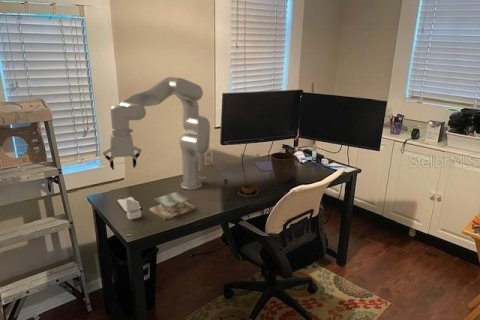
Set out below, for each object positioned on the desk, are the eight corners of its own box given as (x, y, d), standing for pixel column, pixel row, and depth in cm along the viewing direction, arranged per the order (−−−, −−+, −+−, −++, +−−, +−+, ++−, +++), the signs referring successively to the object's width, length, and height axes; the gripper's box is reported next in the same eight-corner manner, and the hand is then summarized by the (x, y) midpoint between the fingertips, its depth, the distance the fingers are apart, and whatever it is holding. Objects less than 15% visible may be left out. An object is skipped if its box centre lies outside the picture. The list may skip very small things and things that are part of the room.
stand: (179, 200, 195) (178, 190, 193) (195, 208, 185) (194, 198, 183) (149, 210, 183) (148, 199, 181) (164, 220, 173) (164, 208, 171)
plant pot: (264, 179, 226) (265, 154, 221) (282, 174, 235) (283, 150, 229) (281, 186, 215) (282, 161, 210) (298, 181, 223) (300, 156, 218)
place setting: (241, 201, 196) (241, 191, 194) (221, 189, 211) (221, 179, 210) (266, 194, 206) (266, 184, 204) (245, 183, 221) (245, 174, 219)
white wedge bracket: (117, 214, 173) (125, 198, 173) (136, 219, 179) (143, 203, 179) (120, 217, 170) (128, 200, 170) (138, 222, 176) (146, 205, 177)
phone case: (142, 210, 184) (132, 198, 197) (142, 207, 183) (132, 196, 196) (125, 215, 179) (116, 202, 192) (125, 212, 179) (115, 200, 191)
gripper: (139, 129, 172) (141, 163, 178) (100, 131, 166) (103, 167, 171) (141, 133, 166) (143, 168, 171) (101, 135, 159) (104, 172, 165)
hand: (123, 167), depth 171 cm, fingers open, 9 cm apart
